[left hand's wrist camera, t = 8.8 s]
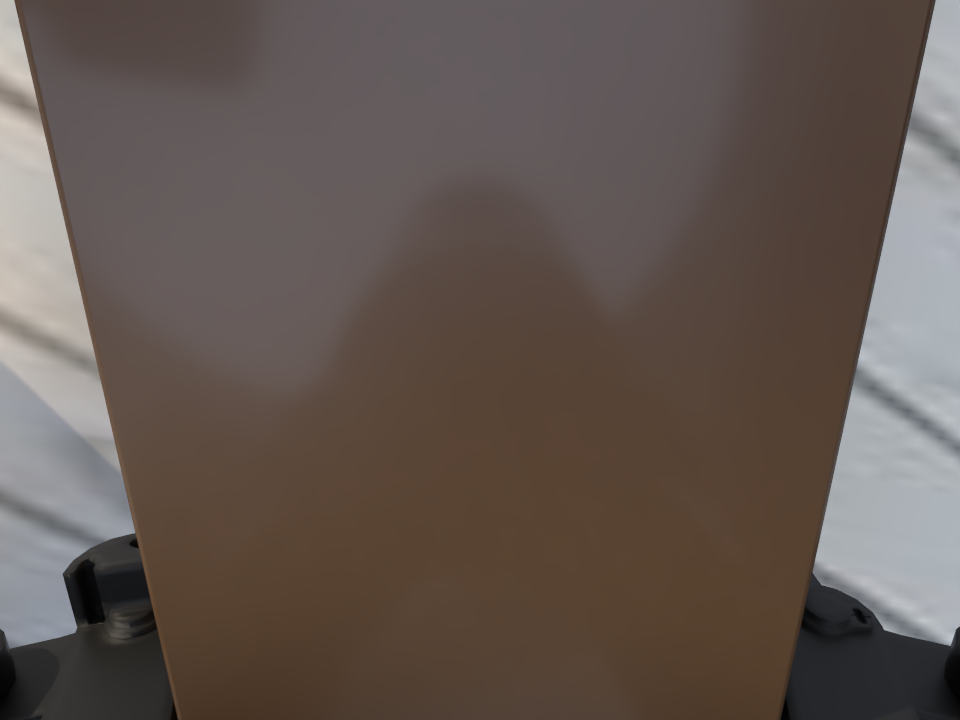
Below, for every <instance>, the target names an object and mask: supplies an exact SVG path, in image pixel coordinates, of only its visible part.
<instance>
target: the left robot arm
mask: <svg viewBox="0 0 960 720" xmlns="http://www.w3.org/2000/svg"><path fill="white" fill-rule="evenodd" d="M63 577H64V581H65V584H66V588H67V592H68V595H69V599H70V602H71V606H72V610H73V613H74V617H75V621H76V624H77V630H76V633H74V634H70V635H67V636H64V637H60V638H56V639H51V640H47V641H42V642H38V643H34V644H29V645H25V646H20V647H16V648H11V649H9V646H8V643H7V640H6V637H5V634H4V632H3V631H2V630H1V629H0V720H178V717H177V713H176V708H175V704H174V699H173V695H172V691H171V686H170V682H169V677H168V673H167V669H166V664H165V660H164V656H163V651H162V647H161V642H160V638H159V634H158V629H157V625H156V620H155V616H154V612H153V607H152V603H151V598H150V594H149V590H148V585H147V581H146V576H145V572H144V568H143V563H142V559H141V554H140V550H139V546H138V541H137V537H136V533H135V534H130V535H126V536H122V537H118V538H114V539H110V540H108V541H106V542H104V543H101V544H99V545H97V546H95V547H92V548H90V549H89V550H87V551H86V552H85V553H83V554H82V555H80V556H79V557H78V558H76V559H75V560H73V562H72V563H71V564H70V565H69V567H68V568H67V569H66V570H65V572H64V573H63ZM781 720H960V627H959V628H957V629H956V632H955V635H954V638H953V641H952V644H951V646H948V645H943V644H939V643H934V642H930V641H925V640H921V639H916V638H912V637H907V636H903V635H899V634H895V633H892V632H889V631H885V630H884V629H883V627H882V625H881V624H880V623H879V621H878V620H877V618H876V617H875V615H874V614H873V612H871V611H870V610H869V609H868V608H866V607H865V606H864V605H863V604H862V603H860V602H859V601H858V600H857V599H855V598H853V597H851V596H849V595H847V594H845V593H843V592H841V591H839V590H837V589H833V588H830V587H826V586H822V585H821V584H820V583H819V581H818V580H817V579H816V577H815V576H814V574H813V573H812V576H811V581H810V585H809V590H808V595H807V599H806V604H805V608H804V613H803V618H802V622H801V627H800V632H799V636H798V641H797V646H796V650H795V655H794V660H793V664H792V669H791V673H790V678H789V683H788V687H787V692H786V697H785V701H784V706H783V711H782V715H781Z"/></svg>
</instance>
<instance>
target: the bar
mask: <svg viewBox="0 0 960 720" xmlns="http://www.w3.org/2000/svg"><path fill="white" fill-rule="evenodd" d="M935 1H936V0H15V5H16V9H17V14H18V18H19V22H20V27H21V31H22V36H23V40H24V44H25V49H26V53H27V58H28V62H29V66H30V71H31V75H32V79H33V84H34V88H35V93H36V97H37V101H38V106H39V110H40V115H41V119H42V123H43V128H44V132H45V137H46V141H47V145H48V150H49V154H50V159H51V163H52V167H53V172H54V176H55V181H56V185H57V189H58V194H59V198H60V203H61V207H62V211H63V216H64V220H65V225H66V229H67V233H68V238H69V242H70V247H71V251H72V255H73V260H74V264H75V269H76V273H77V277H78V282H79V286H80V291H81V295H82V299H83V304H84V308H85V313H86V317H87V321H88V326H89V330H90V335H91V339H92V343H93V348H94V352H95V357H96V361H97V365H98V370H99V374H100V378H101V383H102V387H103V392H104V396H105V400H106V405H107V409H108V414H109V418H110V422H111V427H112V431H113V436H114V440H115V444H116V449H117V453H118V458H119V462H120V466H121V471H122V475H123V480H124V484H125V488H126V493H127V497H128V502H129V506H130V510H131V515H132V519H133V524H134V528H135V532H136V537H137V541H138V546H139V550H140V554H141V559H142V563H143V568H144V572H145V576H146V581H147V585H148V590H149V594H150V598H151V603H152V607H153V612H154V616H155V620H156V625H157V629H158V634H159V638H160V642H161V647H162V651H163V656H164V660H165V664H166V669H167V673H168V677H169V682H170V686H171V691H172V695H173V699H174V704H175V708H176V713H177V717H178V720H781V715H782V711H783V706H784V701H785V697H786V692H787V687H788V683H789V678H790V673H791V669H792V664H793V660H794V655H795V650H796V646H797V641H798V636H799V632H800V627H801V622H802V618H803V613H804V608H805V604H806V599H807V595H808V590H809V585H810V581H811V576H812V571H813V567H814V562H815V557H816V553H817V548H818V543H819V539H820V534H821V530H822V525H823V520H824V516H825V511H826V506H827V502H828V497H829V492H830V488H831V483H832V479H833V474H834V469H835V465H836V460H837V455H838V451H839V446H840V441H841V437H842V432H843V427H844V423H845V418H846V414H847V409H848V404H849V400H850V395H851V390H852V386H853V381H854V376H855V372H856V367H857V363H858V358H859V353H860V349H861V344H862V339H863V335H864V330H865V325H866V321H867V316H868V311H869V307H870V302H871V298H872V293H873V288H874V284H875V279H876V274H877V270H878V265H879V260H880V256H881V251H882V247H883V242H884V237H885V233H886V228H887V223H888V219H889V214H890V209H891V205H892V200H893V195H894V191H895V186H896V182H897V177H898V172H899V168H900V163H901V158H902V154H903V149H904V144H905V140H906V135H907V131H908V126H909V121H910V117H911V112H912V107H913V103H914V98H915V93H916V89H917V84H918V79H919V75H920V70H921V66H922V61H923V56H924V52H925V47H926V42H927V38H928V33H929V28H930V24H931V19H932V15H933V10H934V5H935Z"/></svg>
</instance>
